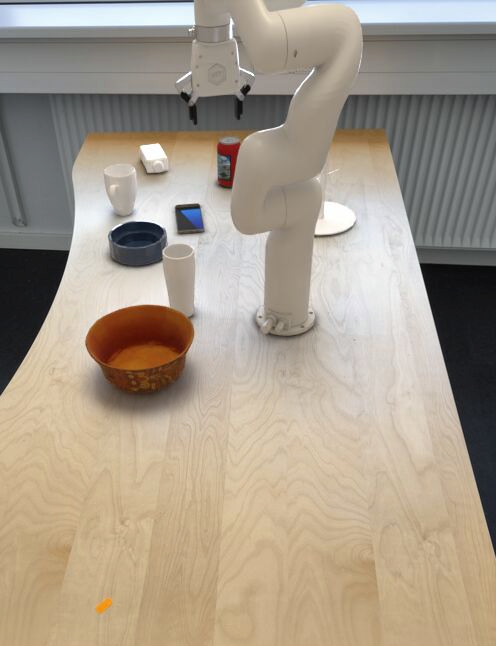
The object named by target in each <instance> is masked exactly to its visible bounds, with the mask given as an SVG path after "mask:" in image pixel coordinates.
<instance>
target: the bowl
mask: <svg viewBox="0 0 496 646" xmlns="http://www.w3.org/2000/svg"><path fill="white" fill-rule="evenodd" d="M194 338H195V328H194V325H193V322H192V321H191V320H190V318H189V317H187V316H185V315H184V314H183V313H181V312H179V311H177V310H174V309H172V308H170V306H166V305H160V304H138V305H131V306H126V307H123V308H119V309H117V310H115V311H112V312H109V313H107V314H105V315H103V316H101V317H100V318H99V319H97V320H96V321H95V322H94V323H93V324H92V326H90V328H89V329H88V332H87V334H86V336H85V340H84V342H85V349H86V350H87V353H88V354H89V356H90V357H91V358H92V359H93V361H95V362H96V364H97V365H99V367H100V369H101V371H102V374H103V376H104V378H105V380H106V381H107V382H108V383H109V384H110V385H111V386H113V387H114V388H116V389H118V390H120V391H122V392H125V393H131V394H132V393H133V394H146V393H152V392H153V393H154V392H157V391H160V390H163V389H164V388H167V387H169V386H170V385H172V384H173V383H174V382H176V380H178V379H179V377H181V375H182V374H183V371H184V370H185V365H186V360H187V354H188V352H189V350H190V348H191V346H192V344H193V341H194Z"/></svg>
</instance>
